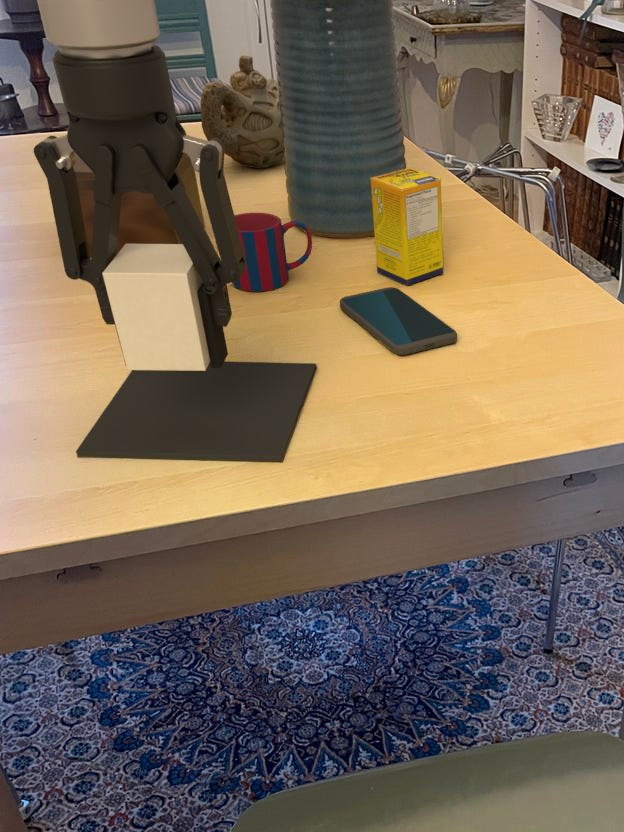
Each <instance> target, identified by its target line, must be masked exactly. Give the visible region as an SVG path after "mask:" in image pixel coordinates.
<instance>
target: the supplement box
mask: <svg viewBox="0 0 624 832" xmlns="http://www.w3.org/2000/svg"><path fill="white" fill-rule="evenodd" d="M371 192H372V204H373V219H374V233H375V235H374V243H375V244H374V245H375V260H376V273H377V274H379V275H381V276H384V277H386V278H388V279H390V280H392V281H395V282H397V283H399V284H401V285H404V286H407V287H408V286H410V285H414V284H415V283H419V282H421V281H424V280H427V279H430V278H433V277H435V276H436V277H437V276H439V275H441V274H442V275H443V274H444V251H443V248H444V247H443V216H442V214H443V213H442V212H443V211H442V180H441V177H439V176H435V175H432V174H429V173H426V172H423V171H421V170H417V169H416V168H412V167H408V168H407V167H406V169H403V170H399V171H395V172H392V173H388V174H384V175H380V176H376V177H372V178H371Z"/></svg>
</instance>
